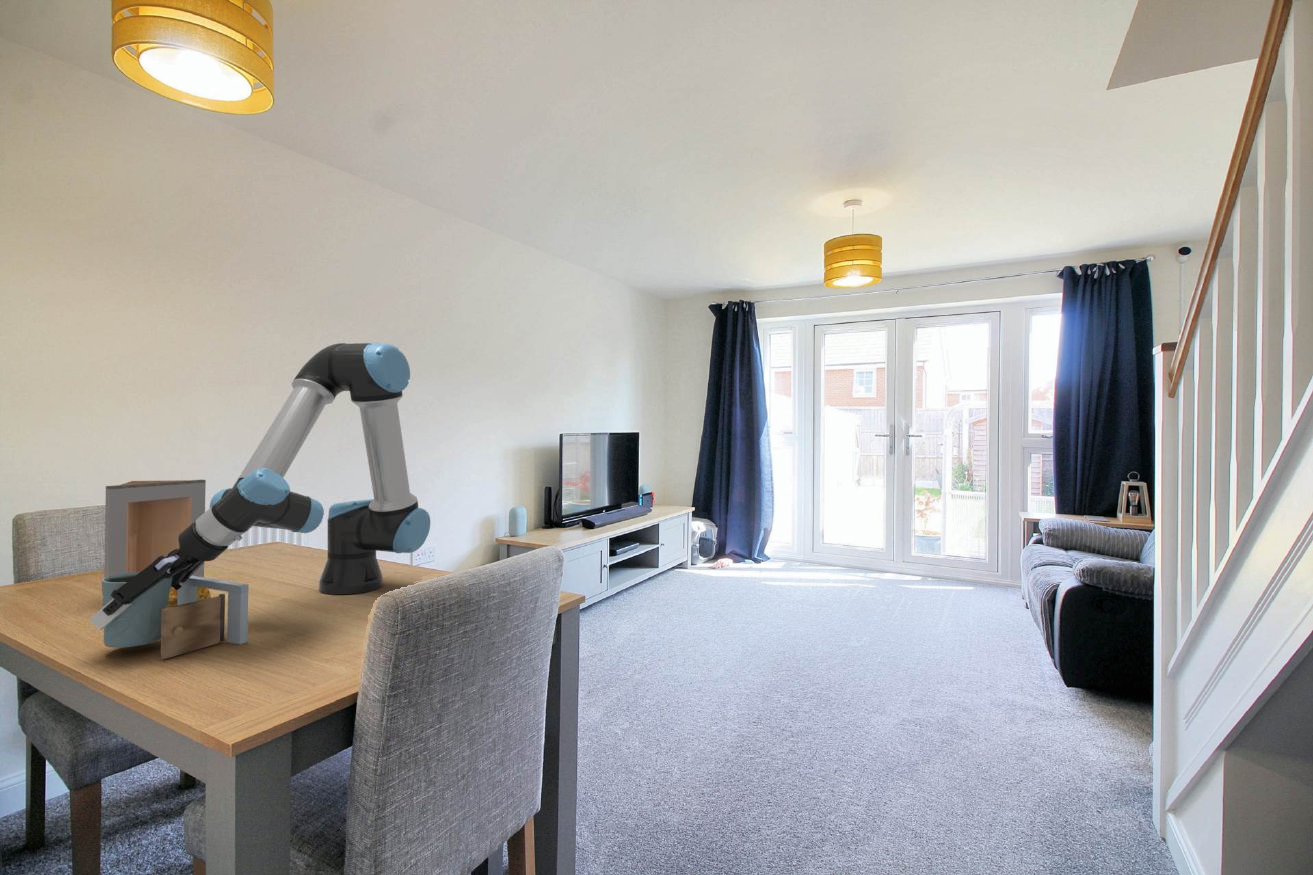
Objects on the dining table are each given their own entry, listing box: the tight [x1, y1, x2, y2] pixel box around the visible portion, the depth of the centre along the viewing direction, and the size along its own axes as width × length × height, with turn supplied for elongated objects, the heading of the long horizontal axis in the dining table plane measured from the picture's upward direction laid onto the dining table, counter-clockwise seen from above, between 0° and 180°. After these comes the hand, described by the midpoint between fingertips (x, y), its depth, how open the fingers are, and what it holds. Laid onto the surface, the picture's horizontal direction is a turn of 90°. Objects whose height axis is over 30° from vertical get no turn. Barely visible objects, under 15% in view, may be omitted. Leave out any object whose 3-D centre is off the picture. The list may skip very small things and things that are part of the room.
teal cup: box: [101, 572, 172, 649], centre depth 113 cm, size 10×10×12 cm
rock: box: [167, 587, 212, 608], centre depth 135 cm, size 11×8×10 cm
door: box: [160, 593, 226, 660], centre depth 113 cm, size 10×2×9 cm, turn 156°
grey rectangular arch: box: [177, 576, 249, 645], centre depth 121 cm, size 18×2×12 cm, turn 71°
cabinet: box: [103, 479, 207, 578], centre depth 147 cm, size 21×10×28 cm, turn 161°
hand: (118, 615), depth 113 cm, fingers closed on teal cup, 10 cm apart
